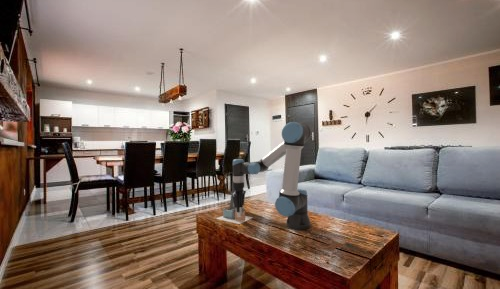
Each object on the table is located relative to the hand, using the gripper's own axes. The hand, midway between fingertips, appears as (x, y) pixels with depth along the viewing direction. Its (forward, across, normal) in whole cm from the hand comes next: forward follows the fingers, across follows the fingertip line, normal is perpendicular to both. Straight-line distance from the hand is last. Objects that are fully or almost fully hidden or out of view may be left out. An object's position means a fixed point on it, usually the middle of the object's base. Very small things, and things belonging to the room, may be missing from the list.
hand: (239, 216), depth 159 cm
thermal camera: (+4, -19, -19) cm, 27 cm away
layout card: (+3, -4, -7) cm, 9 cm away
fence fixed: (+3, -2, -11) cm, 11 cm away
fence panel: (+3, -1, -1) cm, 3 cm away
